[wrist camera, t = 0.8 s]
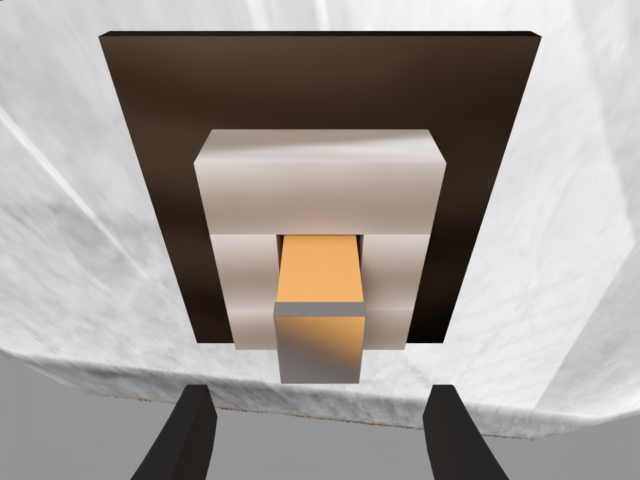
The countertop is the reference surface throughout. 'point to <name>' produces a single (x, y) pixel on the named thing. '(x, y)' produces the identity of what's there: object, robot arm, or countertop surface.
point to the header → (320, 162)
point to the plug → (320, 310)
